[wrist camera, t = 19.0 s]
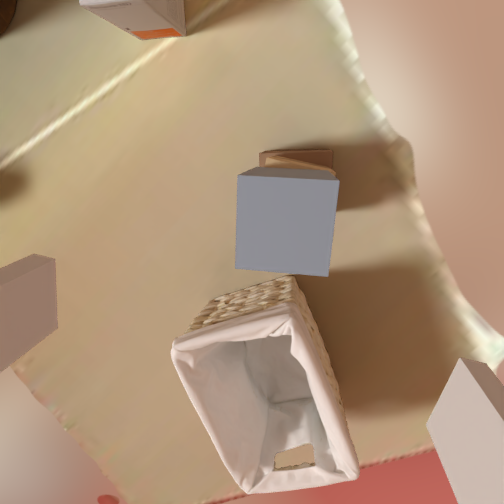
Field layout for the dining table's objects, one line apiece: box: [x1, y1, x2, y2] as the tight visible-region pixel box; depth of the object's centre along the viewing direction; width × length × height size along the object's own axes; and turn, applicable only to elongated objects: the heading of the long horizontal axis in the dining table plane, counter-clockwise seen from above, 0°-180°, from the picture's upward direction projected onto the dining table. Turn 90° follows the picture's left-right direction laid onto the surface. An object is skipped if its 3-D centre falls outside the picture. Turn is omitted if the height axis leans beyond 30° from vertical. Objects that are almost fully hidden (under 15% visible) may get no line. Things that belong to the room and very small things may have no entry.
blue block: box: [235, 167, 340, 277], centre depth 25 cm, size 6×6×9 cm
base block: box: [259, 149, 333, 169], centre depth 40 cm, size 8×8×6 cm
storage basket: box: [171, 276, 360, 494], centre depth 45 cm, size 24×16×15 cm
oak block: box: [265, 155, 336, 176], centre depth 33 cm, size 6×6×9 cm
